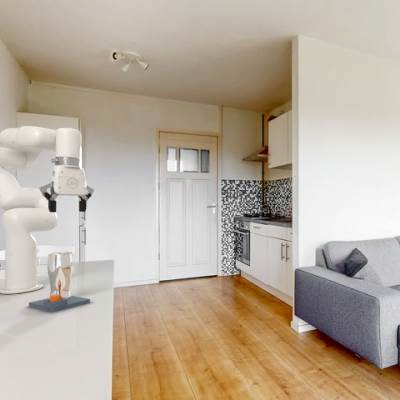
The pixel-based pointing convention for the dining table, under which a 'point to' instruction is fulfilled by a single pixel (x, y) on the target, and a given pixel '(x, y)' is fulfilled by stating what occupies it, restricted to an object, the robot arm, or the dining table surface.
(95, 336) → the dining table surface
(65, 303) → the scale
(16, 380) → the dining table surface
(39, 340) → the dining table surface
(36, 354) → the dining table surface
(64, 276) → the beer glass
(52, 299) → the button
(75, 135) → the robot arm
